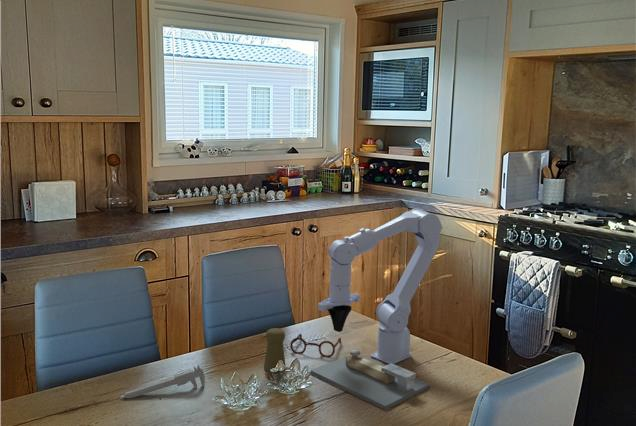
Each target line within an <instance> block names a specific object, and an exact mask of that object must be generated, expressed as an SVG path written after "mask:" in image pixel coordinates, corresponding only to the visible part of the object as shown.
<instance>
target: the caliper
mask: <svg viewBox="0 0 636 426" xmlns="http://www.w3.org/2000/svg"><path fill="white" fill-rule="evenodd" d="M197 378H199V381H200V383H201V387H202V388H204V387H205V385H206V381H205V379H206V378H205V373H204V369H203V367H200V365H199V364H197V367H196V366H195V365H193V370H188V371H185V372H182V373H179V374H176V375H174V376H173V377H171V378H168V379H165V380H161V381H159V382H155V383H151V384H148V385H144V386H142V387H138V388H136V389H133V390H128V391H125V392H124V394H122V395H120V396H119V399H120V400H123V399H131V398H132V399H133V398H136V397H139V396H142V395H146V394H148V393H152V392H156V391H158V390H162V389H164V388H168V387H171V386H174V385H175V386H177V387H180V386H183V385H186V384H188V383H189V382H190V383H191V384H192V386H193V387H194V388H195V389H198V383H197V380H196V379H197Z"/></svg>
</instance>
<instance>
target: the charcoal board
mask: <svg viewBox="0 0 636 426" xmlns="http://www.w3.org/2000/svg"><path fill="white" fill-rule="evenodd" d="M360 355H361V354H360ZM361 356H362V357H363V358H365V359H367V360H369V361H372V362H374V363H376V364H379V365H381V366H383V367H384V366H386V365H385V364H383V363H380V362H378V361H376V360H374V359H371V358H369V357H366V356H364V355H361ZM310 375H313V376H314V377H316V378H318V379H321V380H322V381H325V382H327V383H329V384H331V385H333V386H335V387H337V388H339V389H342V390H344V391H345V392H347V393H350V394H351V395H354V396H356V398H360V399H362V400H364V401H366V402H368V403H370V404H372V405H374V406H376V407H379V408H381V409H383V410H386V411H387V410H389V409H390V408H392V407H394V406H396V405H398V404H400V403H402V402H404V401H405V400H408V399H410V398H411V397H413V396H415V395H417V394H420V393H422V392H424V391H426V390H428V389H430V385H431V384H430V383H428V382H426V381H423V380H422V379H419V378H416V377H415V378H414V389H413V390H411V391H409V392H407V393H406V392H404V391H402V390H400V389H397V381H398V378H396V377H395V381H392V382H390V383H388V384H387V383H385V382H383V381H381V380H378V379H376V378H374V377H372V376H370V375H367V374H365V373H363V372H361V371H358V370H356V369H351V368H349V367H347V365H346V356H344V357H341V358H339V359H337V360H334V361H331V362H329V363H325V364H322V365H321V366H318V367H316V368H312V369H310Z"/></svg>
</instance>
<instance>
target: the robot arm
mask: <svg viewBox="0 0 636 426" xmlns="http://www.w3.org/2000/svg"><path fill="white" fill-rule="evenodd" d="M442 230H443V225H442V223H441V220H440V218H439V217H438V216H437V215H436V214H434V213H430V212H428V211H425V210H424V209H421V208H413V209H411V210H408V211H405V212H404V213H402V214H401V215H400V216H399V215H398V216H397V217H396V218H394V219H391V220H390V221H388V222H386V223H384V224H382V225H380V226H379V227H377V228H375V229H370V228H364V227H362V228H360V229H359V230H358V231H359V232H356V233H354V234H352V235H350V236H347V235H346V236H344V237H343V239H336V240H333V242H331V244H330V246H329V248H328V249H327V252H328V253H327V254H328V255H329V257H330V272H329V293H328V294H329V295H328V298H326V299H323V300H322V301H321V302H318V303H317V311H319V312H322V313H323V312H326V310H327V311H328V313H329V316H330V318H331V321H332V325H333V326H332V327H333V331H335V332H337V333H341V332H343V329H344V327H345V322H346V320H347V318H348V316H349V314H350V313H351V311H352V306H351V305H352V304H353V303H355V302H356V303H358V302H359V303H360V302H361V301H360V299H361V295H360V294H359V293H358V294H357V293H351V280H352V278H351V277H352V262H353V261H354V260H355V258H356V257H357V256H360V255H362V254H365V253H366V252H369V251H371V250H373V249H375V248H376V247H377V246H378V243H379V242H381V241H382V240H385V239H387V238H390V237H393V236H395V235H397V234H400V233H402V232H409V233H413V234H414V237H415V238H416V242H417V247H416V249H415V251H414V252H413V254H412V256H411V258H410V260H409V261H408V264H407V266H406V268H405V269H404V271H403V273H402V275H401V277H400V279H399V280H398V283H397V284H396V286H395V288H394V291H393V292H391V293H390V294H388V295H386V296H385V298H384V300H383V301H382V302H381V303H379V304H378V306H377V307H376V311H375V314H376V318H377V319H378V321H379V323H378V332H377V333H378V336H377V339H378V340H377V350H376V351H375V352H373V353H372V354H370V357H371V358H374V359H376V360H379V361H381V362H383V363H386V364H387V365H388V364H391V363H392V364H394V365H396V364H397V363H399V362H401V361H403V360H407V359H408V358H410V357H412V356H413V355H412V354H411V353H410V349H411V348H410V346H411V333H410V330H409V328H408V327H407V326H408V324H409V317H410V315H411V313H412V309H411V301H412V298H413V297H414V296H415V293H416V291H417V289H418V288H419V286H420V283H421V281H422V280H423V278H424V277H425V274H426V272H427V270H428V268H429V267H430V265H431V263H432V261H433V259H434V258H435V256H436V253H437V251H438V250H439V247H440V240H441V239H440V238H441V237H440V236H441V232H442Z"/></svg>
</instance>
